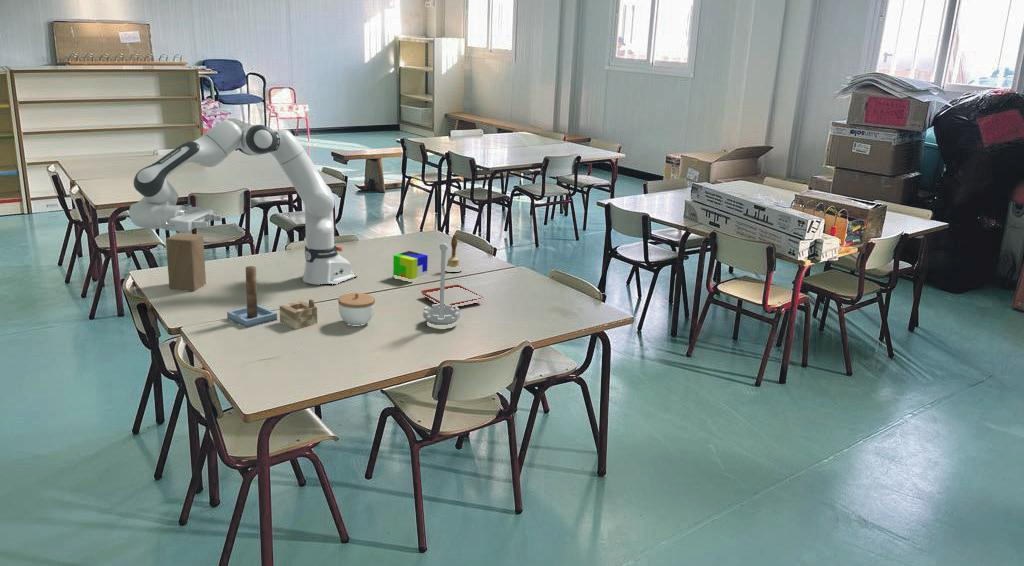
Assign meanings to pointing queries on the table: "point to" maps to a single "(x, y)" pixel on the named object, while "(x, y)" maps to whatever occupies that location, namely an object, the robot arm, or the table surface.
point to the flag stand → (442, 300)
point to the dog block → (298, 314)
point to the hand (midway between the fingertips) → (214, 221)
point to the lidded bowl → (356, 308)
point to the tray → (262, 317)
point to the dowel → (251, 292)
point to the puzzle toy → (410, 264)
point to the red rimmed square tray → (446, 288)
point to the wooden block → (186, 261)
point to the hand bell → (453, 253)
